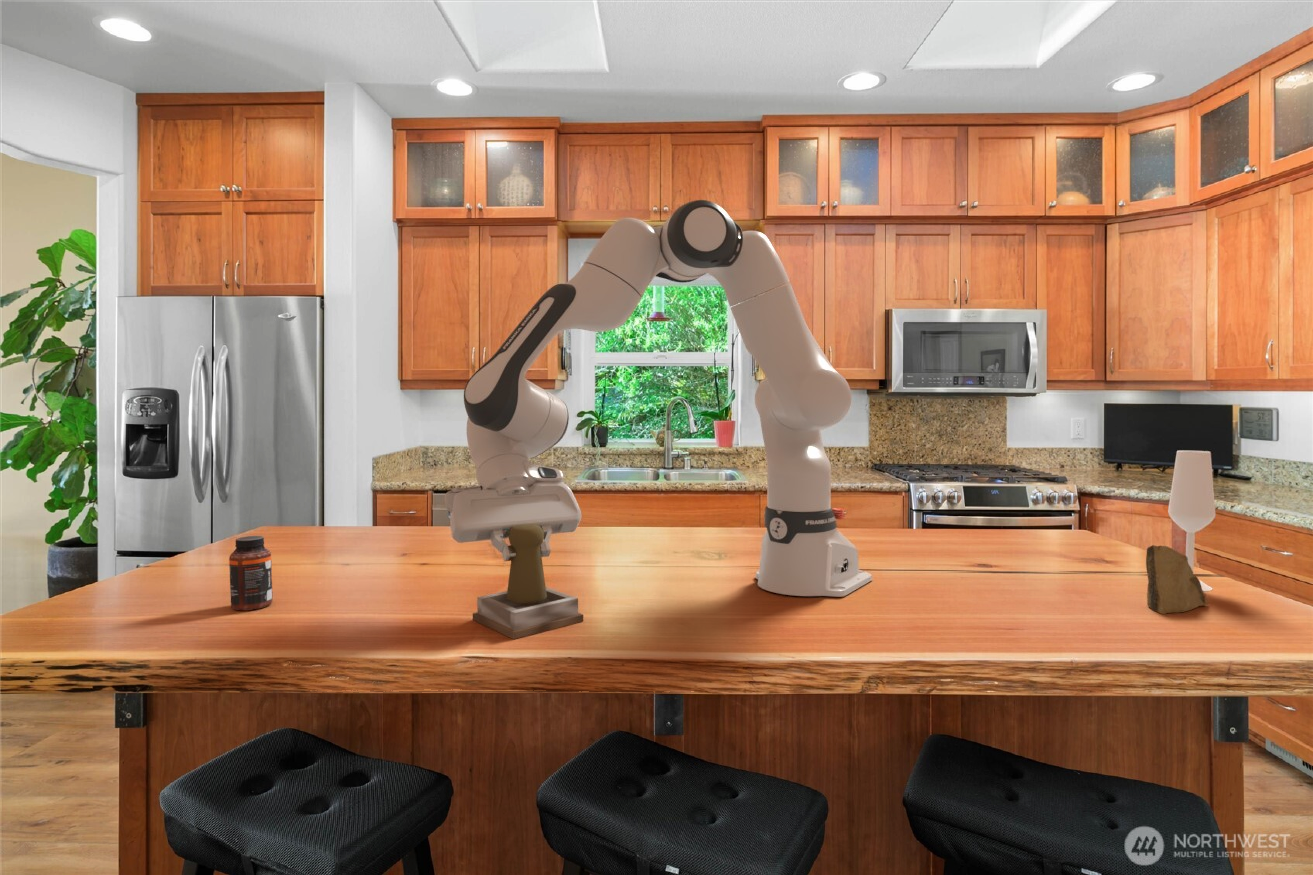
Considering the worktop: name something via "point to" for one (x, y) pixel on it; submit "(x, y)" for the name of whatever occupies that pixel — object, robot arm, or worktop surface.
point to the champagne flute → (1192, 497)
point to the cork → (526, 565)
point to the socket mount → (527, 613)
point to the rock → (1171, 582)
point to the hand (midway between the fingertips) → (528, 556)
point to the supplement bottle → (250, 574)
